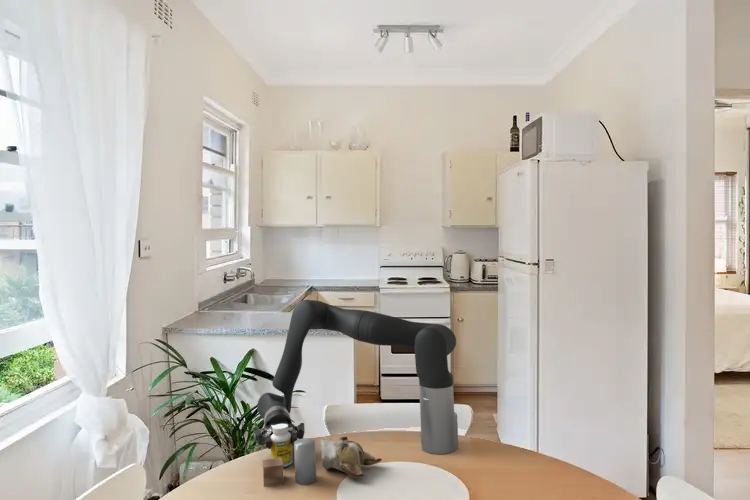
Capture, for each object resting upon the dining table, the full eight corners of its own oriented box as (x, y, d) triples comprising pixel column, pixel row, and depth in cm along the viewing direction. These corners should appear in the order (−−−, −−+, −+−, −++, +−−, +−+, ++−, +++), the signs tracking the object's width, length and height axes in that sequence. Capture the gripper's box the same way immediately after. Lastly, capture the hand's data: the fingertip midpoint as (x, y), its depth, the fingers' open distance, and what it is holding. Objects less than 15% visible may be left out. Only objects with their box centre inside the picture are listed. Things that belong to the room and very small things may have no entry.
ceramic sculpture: (332, 424, 131) (383, 435, 124) (331, 457, 131) (382, 470, 124) (309, 438, 121) (363, 451, 114) (308, 474, 121) (362, 488, 115)
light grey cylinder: (314, 474, 121) (313, 437, 121) (317, 483, 116) (316, 444, 117) (294, 477, 120) (293, 439, 120) (296, 486, 115) (295, 447, 115)
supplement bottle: (287, 457, 131) (286, 421, 131) (295, 464, 127) (294, 426, 127) (268, 462, 128) (266, 425, 128) (276, 469, 124) (274, 431, 124)
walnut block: (282, 476, 121) (281, 457, 121) (283, 484, 117) (283, 464, 117) (263, 478, 120) (262, 460, 120) (263, 486, 115) (263, 467, 116)
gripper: (251, 412, 140) (251, 432, 123) (302, 406, 143) (309, 425, 127) (252, 438, 140) (253, 462, 123) (303, 432, 143) (310, 454, 127)
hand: (281, 443), depth 125 cm, fingers closed on supplement bottle, 5 cm apart
